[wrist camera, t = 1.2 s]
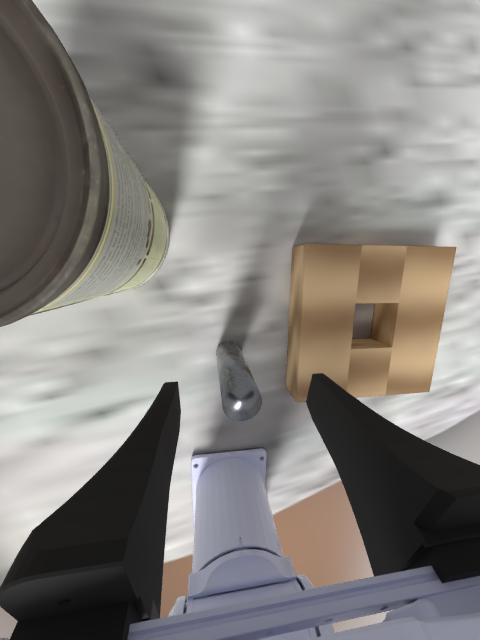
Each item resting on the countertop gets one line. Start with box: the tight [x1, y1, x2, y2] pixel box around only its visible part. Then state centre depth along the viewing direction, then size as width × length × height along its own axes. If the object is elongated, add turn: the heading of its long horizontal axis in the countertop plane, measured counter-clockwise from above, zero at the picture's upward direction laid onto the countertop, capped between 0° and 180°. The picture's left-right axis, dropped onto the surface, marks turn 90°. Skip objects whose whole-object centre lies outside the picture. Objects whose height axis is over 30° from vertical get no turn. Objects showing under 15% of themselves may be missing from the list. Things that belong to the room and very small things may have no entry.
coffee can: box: [0, 0, 169, 327], centre depth 12 cm, size 10×10×14 cm
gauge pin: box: [216, 341, 262, 421], centre depth 19 cm, size 2×2×9 cm
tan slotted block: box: [286, 244, 456, 402], centre depth 23 cm, size 14×14×3 cm
